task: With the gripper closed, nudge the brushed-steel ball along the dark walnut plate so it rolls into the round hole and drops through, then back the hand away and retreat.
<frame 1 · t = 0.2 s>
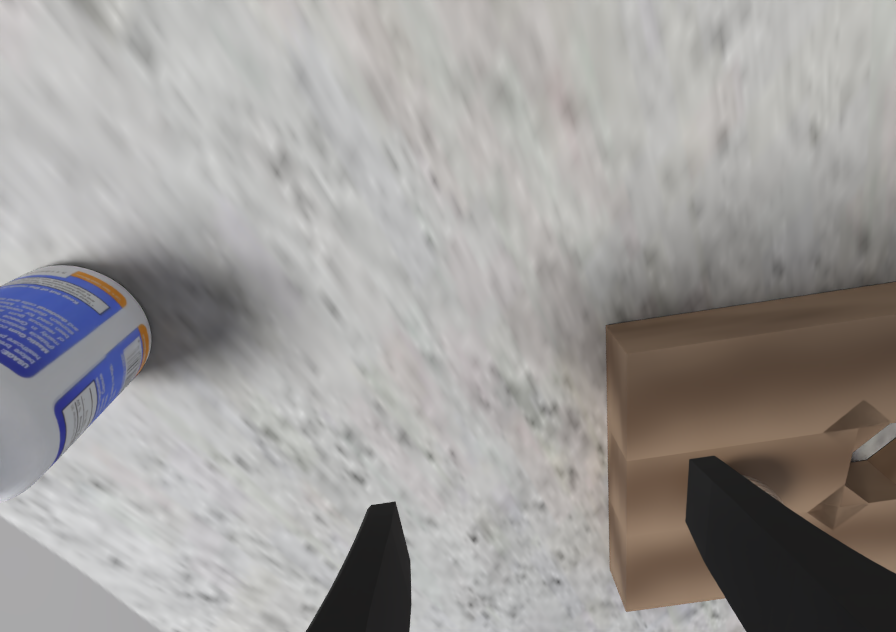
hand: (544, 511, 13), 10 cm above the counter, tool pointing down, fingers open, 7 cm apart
walnut plate: (788, 436, 25), on the counter
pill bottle: (89, 323, 21), on the counter
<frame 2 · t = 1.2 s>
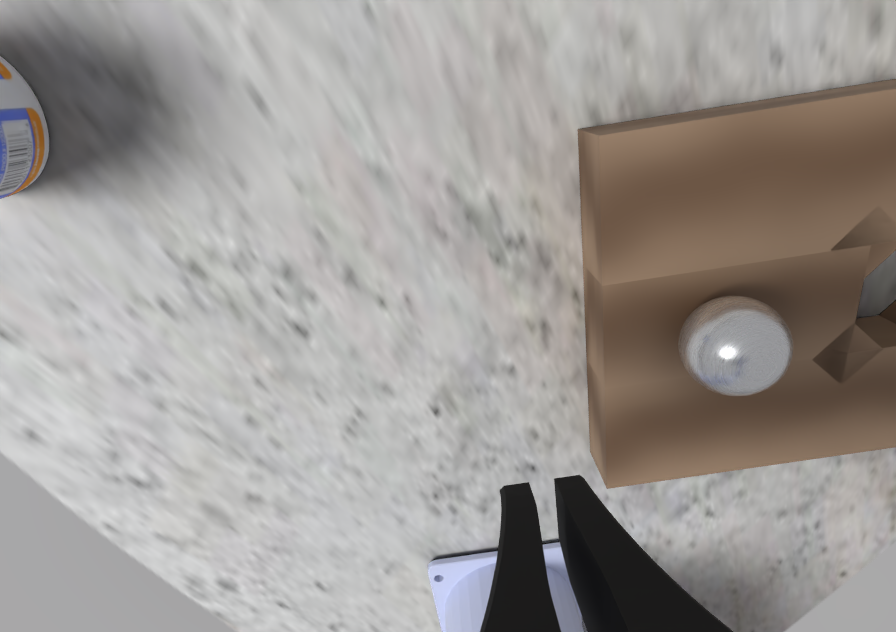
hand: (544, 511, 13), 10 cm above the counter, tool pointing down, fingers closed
walnut plate: (790, 282, 22), on the counter
steel ball: (733, 345, 18), point 4 cm above the counter, touching walnut plate
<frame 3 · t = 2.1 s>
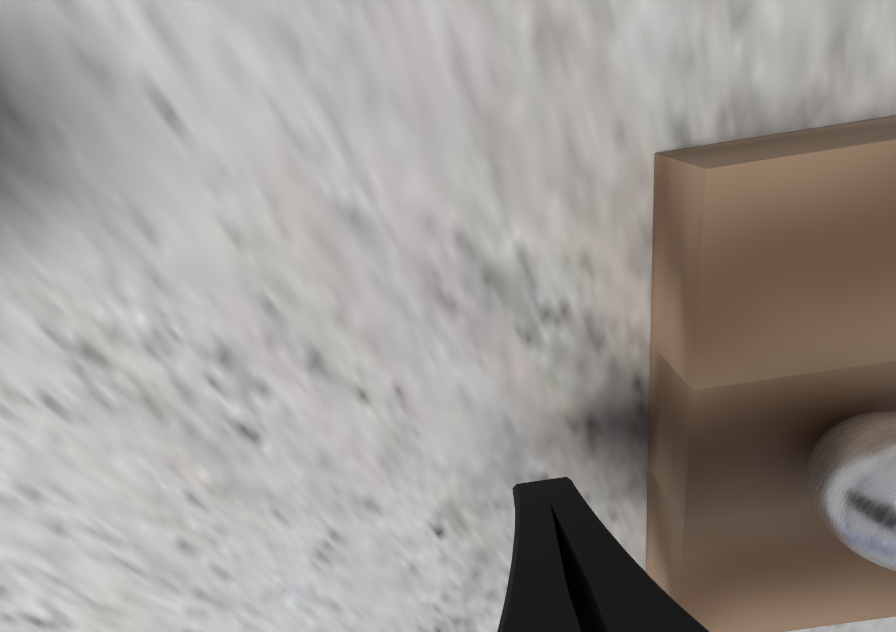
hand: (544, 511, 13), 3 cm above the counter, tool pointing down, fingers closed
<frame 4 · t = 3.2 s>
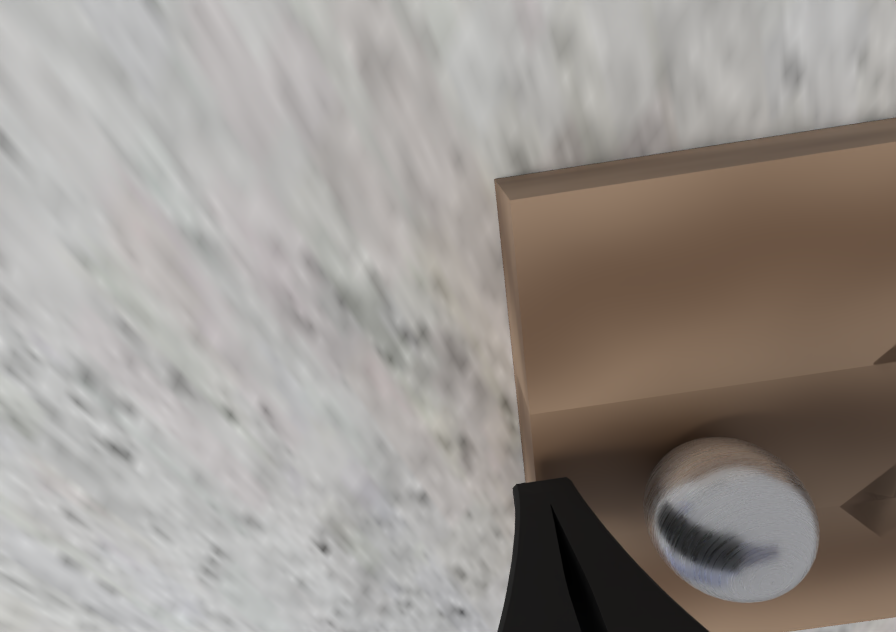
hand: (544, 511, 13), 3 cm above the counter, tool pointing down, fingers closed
walnut plate: (807, 385, 16), on the counter
steel ball: (725, 515, 12), point 4 cm above the counter, touching walnut plate
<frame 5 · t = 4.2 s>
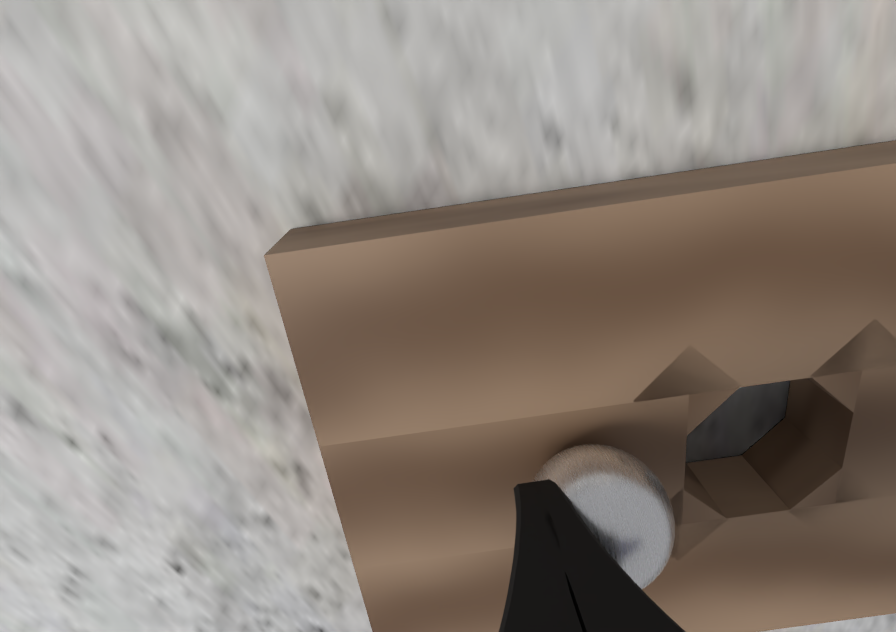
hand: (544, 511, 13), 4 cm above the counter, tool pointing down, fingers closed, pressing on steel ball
walnut plate: (618, 417, 17), on the counter
steel ball: (597, 517, 13), point 4 cm above the counter, tilted 93°, touching gripper, walnut plate
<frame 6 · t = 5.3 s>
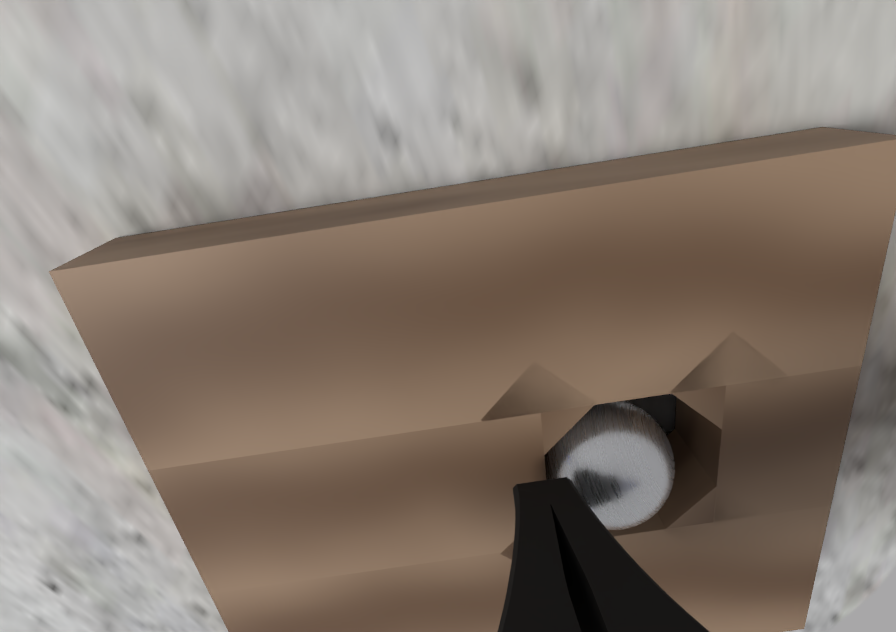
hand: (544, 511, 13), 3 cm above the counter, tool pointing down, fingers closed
walnut plate: (496, 430, 16), on the counter
steel ball: (605, 461, 14), point 2 cm above the counter, tilted 106°
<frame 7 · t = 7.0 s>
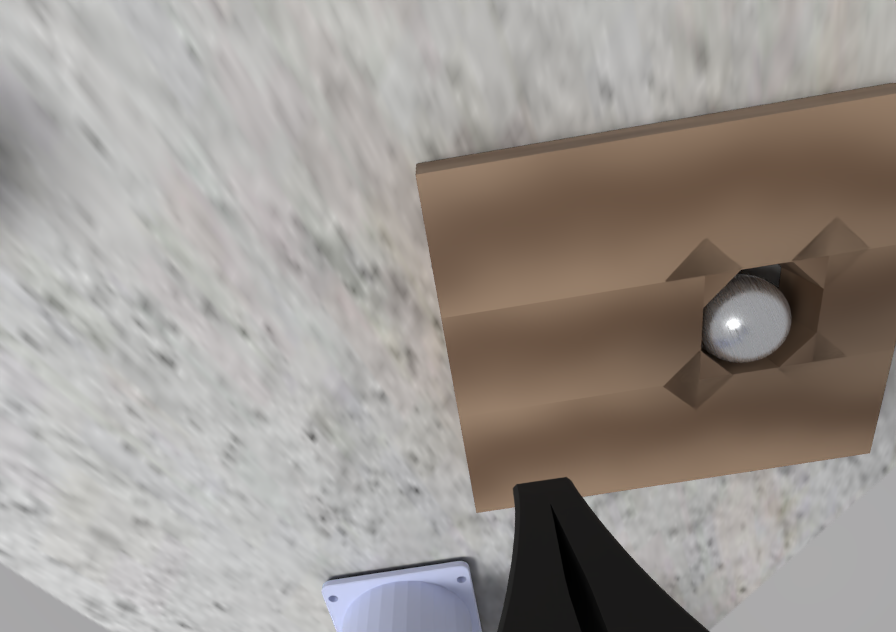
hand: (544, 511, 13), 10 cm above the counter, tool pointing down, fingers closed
walnut plate: (649, 308, 22), on the counter
steel ball: (738, 318, 20), point 2 cm above the counter, tilted 103°
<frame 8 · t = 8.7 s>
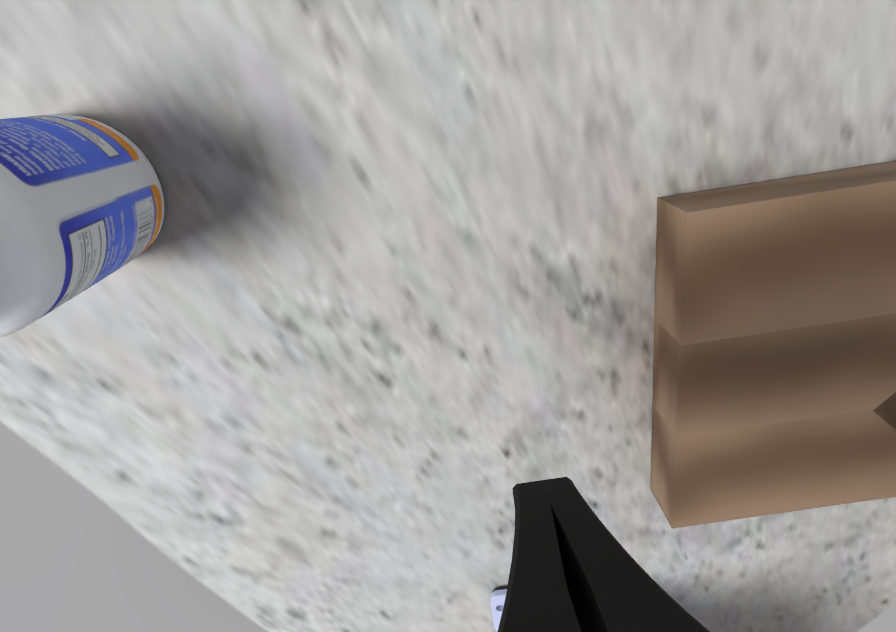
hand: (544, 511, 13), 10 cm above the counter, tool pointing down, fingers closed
walnut plate: (848, 334, 23), on the counter
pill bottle: (97, 190, 19), on the counter
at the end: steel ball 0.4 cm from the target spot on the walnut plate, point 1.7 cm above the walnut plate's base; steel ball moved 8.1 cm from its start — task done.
